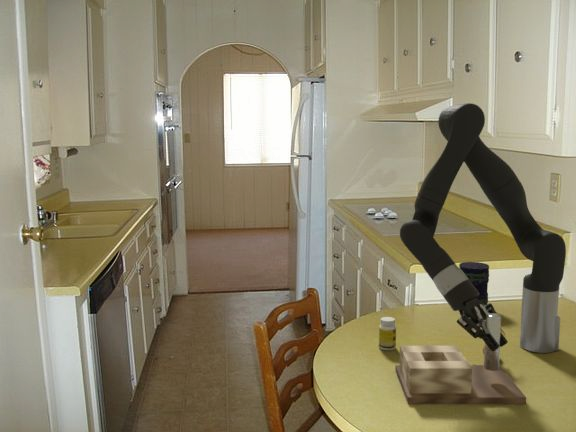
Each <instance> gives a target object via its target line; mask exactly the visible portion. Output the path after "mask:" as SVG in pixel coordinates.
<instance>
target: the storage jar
mask: <svg viewBox="0 0 576 432" xmlns="http://www.w3.org/2000/svg"><path fill="white" fill-rule="evenodd" d="M458 267H459V268H460V269H461V270H462V271H463V272H464V274H465V275H466V276H467V278H468V279H469V280H470V282H471V283H472V284H473V285H474V287H475V288H476V289H477V291H478V292H479V296H478V299H479V300H480V301H481V302H482V303H483V304H484V305H488V304H489V293H488V287H489V285H488V284H489V281H490V278H489V277H490V273H489V272H490V270H489V269H490V265H489V264H488V263H483V262H477V261H476V262H475V261H467V262H466V261H464V262H461V263H459V265H458Z"/></svg>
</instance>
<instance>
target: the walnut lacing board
mask: <svg viewBox="0 0 576 432" xmlns="http://www.w3.org/2000/svg"><path fill="white" fill-rule="evenodd" d="M469 365H470V366H471V368H472V386H471V393H409V391H408V388H407V386H406V383H405V381H404V378H403V376H402V373H401V371H400V364H397V365H396V364H395V368H394V369H395V373H396V376H397V379H398V380H399V381H398V382H399V384H400V387H401V389H402V392H403V395H404V398H405V400H406V402H407V404H408V405H411V404H415V405H418V404H420V405H421V404H424V405H425V404H426V405H427V404H428V405H430V404H431V405H435V404H436V405H438V404H440V405H445V404H446V405H449V404H450V405H451V404H453V405H454V404H456V405H457V404H459V405H460V404H461V405H462V404H463V405H466V404H467V405H473V404H474V405H475V404H476V405H477V404H478V405H482V404H483V405H485V404H486V405H492V404H495V405H497V404H498V405H499V404H500V405H502V404H503V405H504V404H505V405H512V404H513V405H520V404H521V405H526V404H527V396H526V395H525V394H524V393H523V392H522V390H521V389H520V388H519V387H518V385H517V384H516V383H515V382H514V380H512V378H511V377H510V375H508V373H507V372H506V370H504V368H503V367H502V366H501V365H500V364H499V370H497V371H490V370H487V369H485V368H484V364H483V365H482V364H479V365H478V364H472V365H471V364H469Z"/></svg>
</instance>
